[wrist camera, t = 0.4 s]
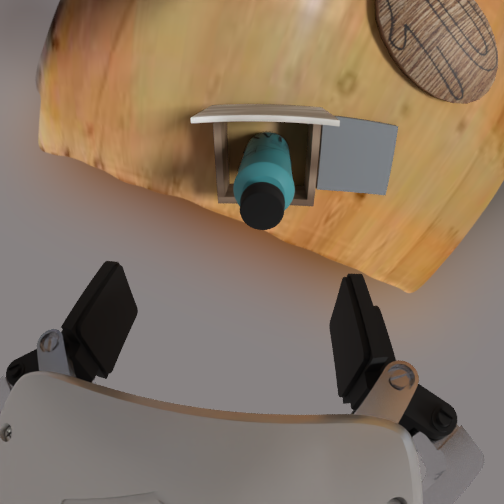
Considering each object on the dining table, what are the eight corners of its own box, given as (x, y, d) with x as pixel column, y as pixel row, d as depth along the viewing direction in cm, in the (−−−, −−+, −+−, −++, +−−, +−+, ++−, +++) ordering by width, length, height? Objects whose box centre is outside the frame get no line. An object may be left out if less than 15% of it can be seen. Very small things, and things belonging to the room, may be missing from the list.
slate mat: (322, 114, 35) (323, 115, 34) (395, 125, 34) (398, 126, 33) (316, 186, 42) (317, 189, 41) (383, 192, 41) (385, 195, 41)
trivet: (446, 129, 33) (452, 132, 31) (341, 16, 25) (344, 14, 24) (507, 58, 20) (513, 59, 18) (420, -48, 12) (425, -51, 10)
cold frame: (219, 101, 35) (190, 117, 23) (316, 103, 34) (339, 120, 22) (223, 189, 44) (203, 242, 32) (309, 191, 43) (323, 246, 31)
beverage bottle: (296, 139, 38) (314, 196, 22) (277, 175, 42) (279, 253, 26) (255, 121, 36) (241, 164, 21) (239, 159, 40) (214, 228, 25)
